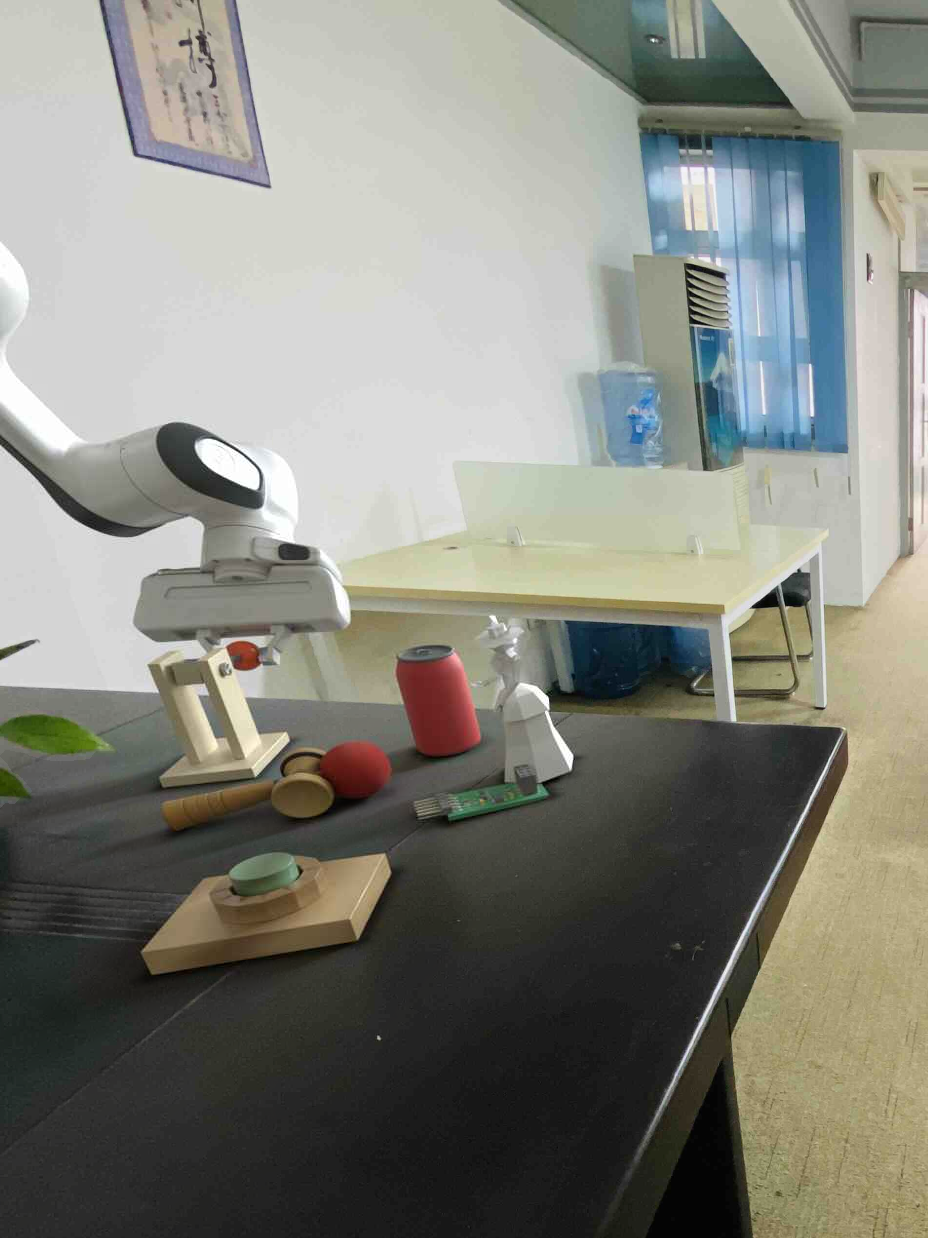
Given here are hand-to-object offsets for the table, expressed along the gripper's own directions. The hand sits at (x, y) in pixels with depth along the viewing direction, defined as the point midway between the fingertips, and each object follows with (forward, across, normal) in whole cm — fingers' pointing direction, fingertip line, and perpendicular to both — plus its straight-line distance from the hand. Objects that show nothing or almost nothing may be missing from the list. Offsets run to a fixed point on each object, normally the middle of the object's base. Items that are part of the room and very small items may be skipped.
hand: (244, 665), depth 96 cm
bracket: (+13, 0, -1) cm, 13 cm away
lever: (+3, 0, -3) cm, 5 cm away
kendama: (+23, +10, -11) cm, 27 cm away
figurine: (+22, +33, -10) cm, 40 cm away
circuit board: (+26, +28, -14) cm, 41 cm away
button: (+35, +16, -29) cm, 48 cm away
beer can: (+15, +22, -3) cm, 26 cm away
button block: (+38, +16, -26) cm, 49 cm away
